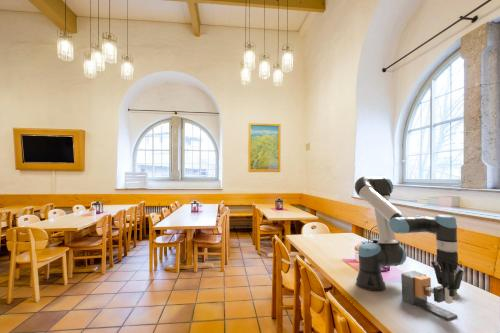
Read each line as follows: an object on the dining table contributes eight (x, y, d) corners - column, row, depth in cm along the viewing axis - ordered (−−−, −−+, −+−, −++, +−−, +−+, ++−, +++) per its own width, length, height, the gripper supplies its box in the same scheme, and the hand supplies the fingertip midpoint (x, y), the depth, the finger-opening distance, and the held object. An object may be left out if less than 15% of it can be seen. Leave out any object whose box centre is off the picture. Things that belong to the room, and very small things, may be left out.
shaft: (407, 288, 125) (406, 276, 125) (415, 286, 127) (414, 275, 127) (438, 302, 111) (438, 289, 111) (447, 300, 113) (446, 287, 113)
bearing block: (402, 300, 125) (401, 273, 126) (415, 296, 129) (414, 270, 129) (445, 321, 107) (443, 290, 107) (459, 316, 110) (458, 286, 111)
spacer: (415, 296, 120) (414, 277, 121) (424, 293, 123) (424, 275, 123) (421, 298, 118) (420, 279, 118) (431, 296, 120) (430, 277, 120)
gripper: (426, 246, 115) (428, 297, 114) (458, 255, 103) (460, 311, 102) (436, 245, 118) (438, 294, 117) (469, 252, 106) (471, 308, 105)
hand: (449, 302), depth 110 cm, fingers closed
